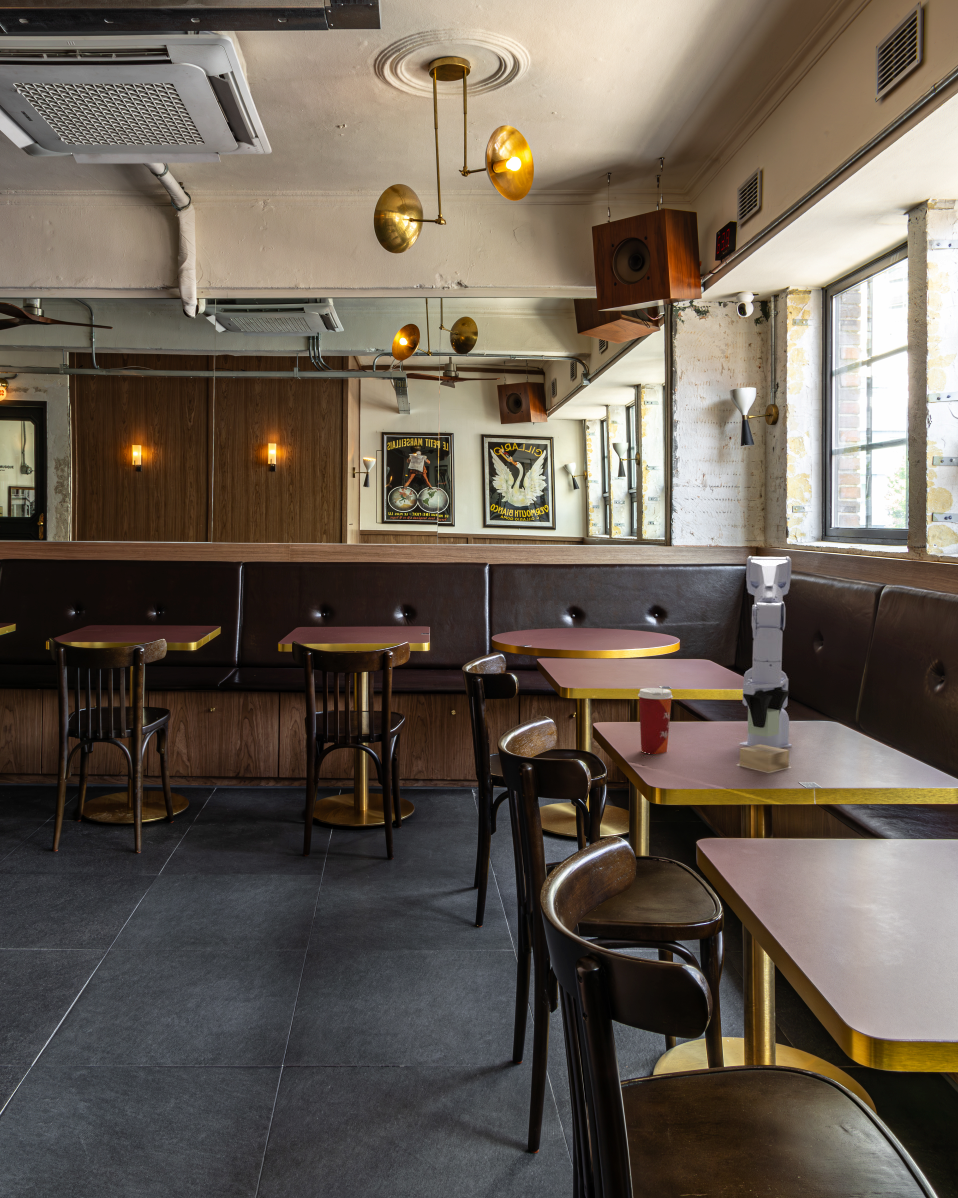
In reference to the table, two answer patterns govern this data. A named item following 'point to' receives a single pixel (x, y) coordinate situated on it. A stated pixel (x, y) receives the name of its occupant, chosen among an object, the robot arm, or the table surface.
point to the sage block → (770, 724)
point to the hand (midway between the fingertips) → (765, 725)
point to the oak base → (764, 757)
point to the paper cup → (654, 719)
